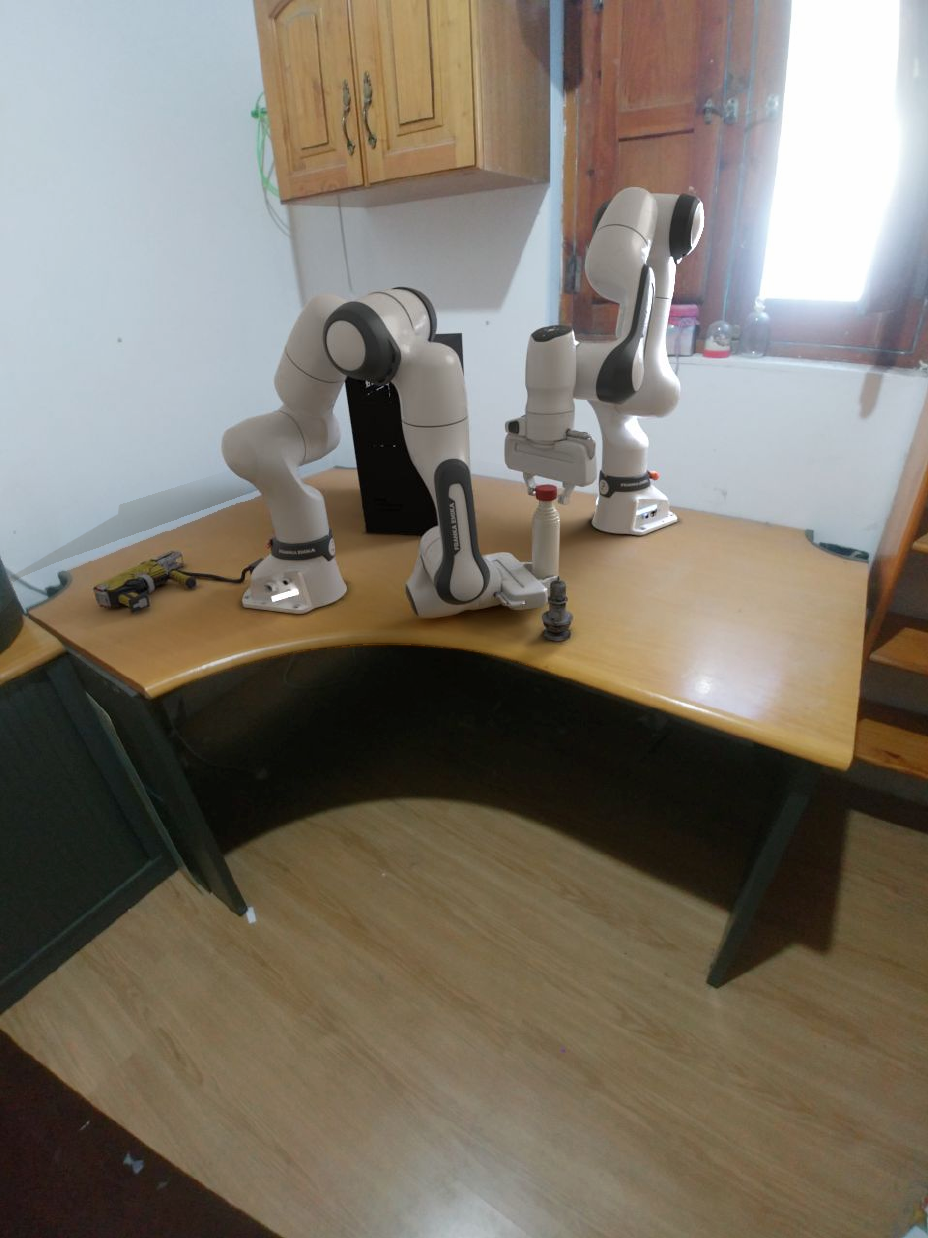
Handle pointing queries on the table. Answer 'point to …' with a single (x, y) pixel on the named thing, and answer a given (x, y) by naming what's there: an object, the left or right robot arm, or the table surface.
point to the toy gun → (141, 582)
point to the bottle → (545, 541)
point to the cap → (546, 492)
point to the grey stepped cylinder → (557, 613)
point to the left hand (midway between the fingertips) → (548, 572)
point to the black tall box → (389, 457)
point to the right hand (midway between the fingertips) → (548, 499)
